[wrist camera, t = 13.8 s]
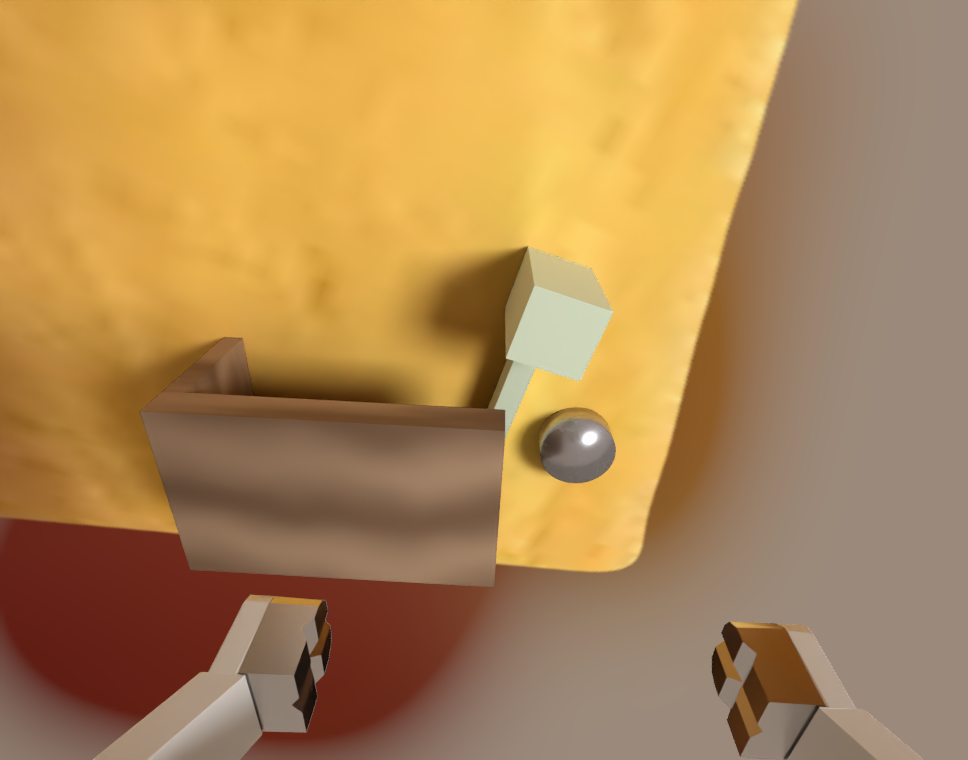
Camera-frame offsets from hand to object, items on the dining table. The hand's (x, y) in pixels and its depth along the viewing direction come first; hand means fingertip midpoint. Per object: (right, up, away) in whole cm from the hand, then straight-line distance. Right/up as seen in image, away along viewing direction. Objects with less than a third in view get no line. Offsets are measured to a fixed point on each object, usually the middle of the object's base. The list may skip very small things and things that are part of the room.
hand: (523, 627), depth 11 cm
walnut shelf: (-9, +2, +26) cm, 27 cm away
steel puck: (+6, +1, +26) cm, 27 cm away
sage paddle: (+1, +6, +24) cm, 24 cm away
